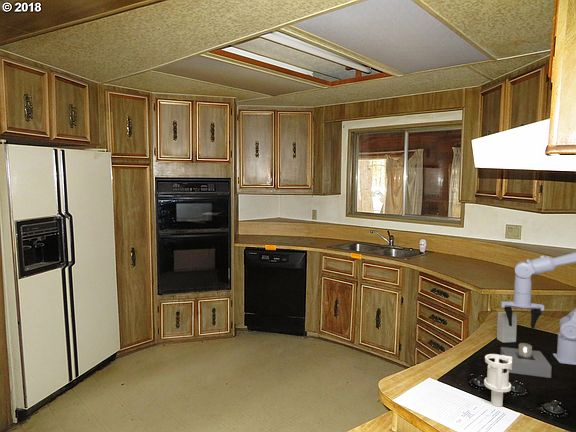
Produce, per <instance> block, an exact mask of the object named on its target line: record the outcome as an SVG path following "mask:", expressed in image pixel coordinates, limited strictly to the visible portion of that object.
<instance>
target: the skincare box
mask: <svg viewBox="0 0 576 432" xmlns="http://www.w3.org/2000/svg"><path fill="white" fill-rule="evenodd" d="M517 320H518V314H517V313H515V312H513V313H512V326H509V322H508V318H507V315H506V312H505V311H497V322H496V323H497V326H496V328H497V329H496V339H497V340H498V341H499V342H501V343H516V342H517V328H518V327H517V324H518V321H517Z"/></svg>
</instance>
